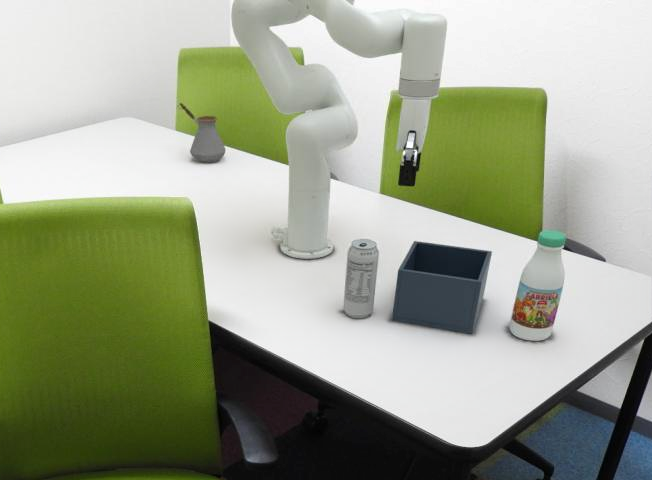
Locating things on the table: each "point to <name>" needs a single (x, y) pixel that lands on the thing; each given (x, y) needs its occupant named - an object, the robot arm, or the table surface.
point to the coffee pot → (206, 139)
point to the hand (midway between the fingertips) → (408, 178)
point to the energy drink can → (360, 278)
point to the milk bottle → (539, 289)
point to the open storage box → (441, 286)
